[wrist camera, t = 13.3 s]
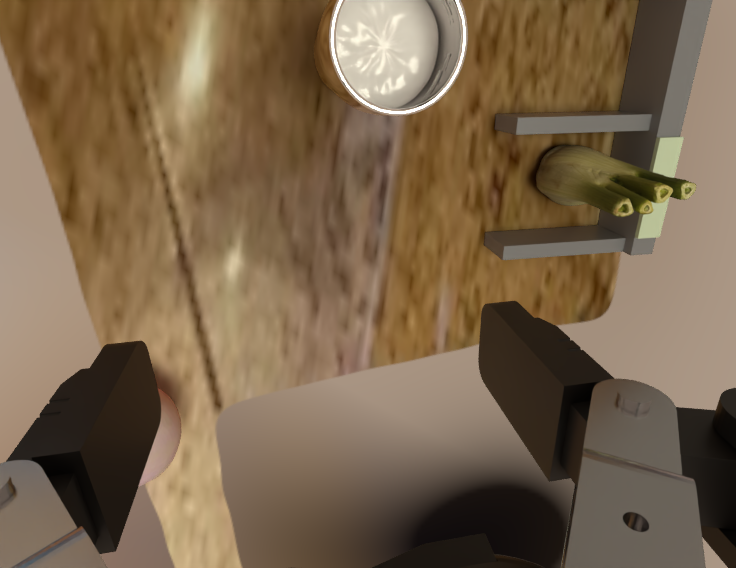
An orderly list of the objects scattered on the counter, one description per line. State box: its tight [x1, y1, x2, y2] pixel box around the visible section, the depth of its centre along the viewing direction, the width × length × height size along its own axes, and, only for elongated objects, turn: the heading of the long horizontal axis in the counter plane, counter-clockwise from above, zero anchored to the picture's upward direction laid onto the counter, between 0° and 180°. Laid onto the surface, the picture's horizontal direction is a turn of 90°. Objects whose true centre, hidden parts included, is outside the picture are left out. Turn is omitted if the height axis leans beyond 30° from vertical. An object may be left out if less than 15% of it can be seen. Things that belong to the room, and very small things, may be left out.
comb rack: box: [484, 0, 712, 260], centre depth 38 cm, size 21×13×5 cm, turn 1°
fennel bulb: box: [536, 145, 696, 217], centre depth 36 cm, size 6×5×12 cm
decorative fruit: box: [138, 387, 181, 487], centre depth 39 cm, size 9×8×10 cm
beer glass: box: [314, 0, 468, 116], centre depth 29 cm, size 7×7×15 cm
